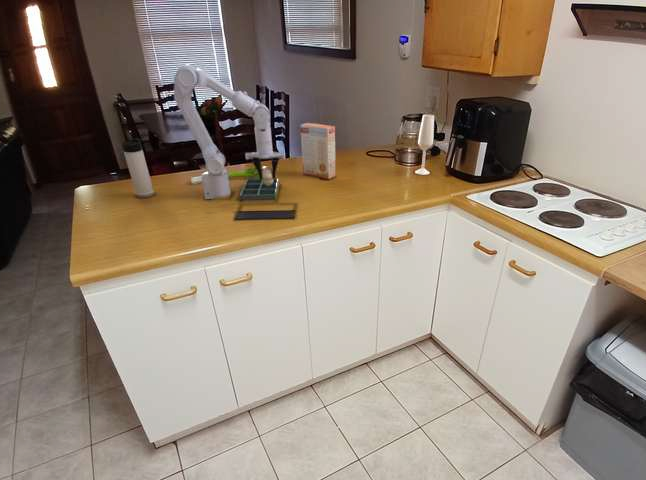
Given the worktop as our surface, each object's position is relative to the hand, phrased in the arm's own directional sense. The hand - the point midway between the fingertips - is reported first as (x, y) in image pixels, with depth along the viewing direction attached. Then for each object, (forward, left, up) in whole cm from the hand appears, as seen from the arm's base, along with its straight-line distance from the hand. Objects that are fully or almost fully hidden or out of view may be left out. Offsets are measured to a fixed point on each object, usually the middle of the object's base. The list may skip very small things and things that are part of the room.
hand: (267, 177), depth 156 cm
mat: (+1, -19, -6) cm, 20 cm away
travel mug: (-47, 0, -6) cm, 48 cm away
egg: (0, 0, -3) cm, 3 cm away
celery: (-18, +15, -6) cm, 24 cm away
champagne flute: (+67, +25, -6) cm, 72 cm away
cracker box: (+20, +22, -6) cm, 30 cm away
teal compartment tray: (-3, 0, -6) cm, 7 cm away
